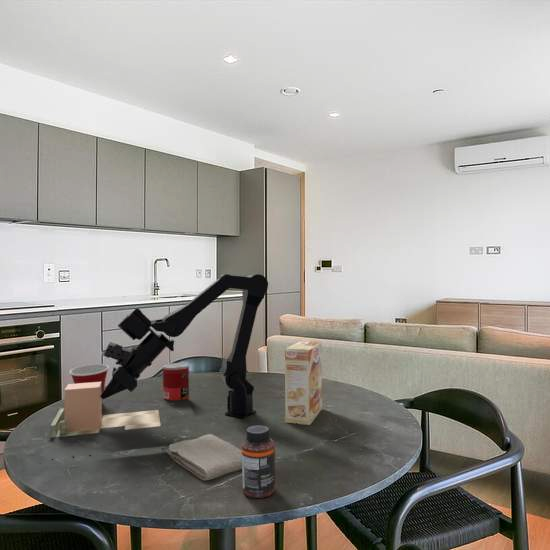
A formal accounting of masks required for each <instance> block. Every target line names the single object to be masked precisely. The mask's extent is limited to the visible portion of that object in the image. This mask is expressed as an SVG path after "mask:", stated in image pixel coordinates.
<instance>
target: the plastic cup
mask: <svg viewBox="0 0 550 550" xmlns="http://www.w3.org/2000/svg"><path fill="white" fill-rule="evenodd" d="M109 368H110V365H108V364H103V363H92V364H84V365H80V366H76V367H73V368H72V369H70V370H69V374H70V375H71V377H72V380H73V381H72V382H73V384H77V383H90V382H101V392H102V393H103V391H104V390H105V384H106V378H107V373H108V370H109Z"/></svg>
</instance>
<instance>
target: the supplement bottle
mask: <svg viewBox="0 0 550 550" xmlns="http://www.w3.org/2000/svg"><path fill="white" fill-rule="evenodd" d="M275 448H276V447H275V442H274V440H273V439H272V438H270V429H269V427H268V426H265V425H251V426H249V427H248V428H247V429H246V438H245V439H244V440H243V441H242V444H241V451H242V469H241V470H242V472H241V475H242V476H241V482H242V485H241V487H242V492H243V494H244V495H245V496H247V497H249V498H254V499H263V498H266V497H269V496H271V495H272V494H274V492H275V491H276V458H275V457H276V455H275V454H276V452H275V451H276V450H275Z"/></svg>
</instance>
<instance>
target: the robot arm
mask: <svg viewBox="0 0 550 550" xmlns="http://www.w3.org/2000/svg"><path fill="white" fill-rule="evenodd" d="M268 288H269V281H268V279H267V278H266V277H265V276H264V275H262V274H259V273H258V274H257V273H254V274H248V275H247V276H242V275H231V274H229V273H224V274H223V273H222V274H220V275H219V276H218V278H217V279H216V280H214V282H212V283H211V284H209V286H207V287H206V288H205V289H203V291H201V292H200V293H199V294H198V295H196V296H195V297H194V298H192V299H191V300H190V301H189V302H188V303H187V304H185V305H183V306H180V307H179V308H177V309H175V310H174V311H172V312H170V313H168V314H166V315H165V316H164V317H163V318H161V319H153V320H151V319H150V318H148V317H147V316H146V315H145V314H144V313H143V312H142V310H141V309H140V308H139V307H136V308H135V309H134V310H133V311H131V313H129V314H127V315H126V316H125V317H124V318H123V319H122V320H121V321H120V322H119V323H118V325H117V327H118V328H119V329H120V330H122V332H124V334H126V335H127V336H128V337H129V338H130V339H131V340H133V341H134V340H138V341H140V340H142V339H143V340H142V341H140V343H139V344H137V346H133V347H131V349H129V348H127V347H125V346H123V345H120V344H118V343H115V342H111V341H110V342H108V345H107V346H106V349H105V351H104V353H103V356H104V357H106V358H108V359H109V358H111V359H113V360H115V365H119V366H118V367H117V368H116V367H114V366H113V369H112V372H111V375H112V376H111V379H110V381H109V382H108V384H107V386H106V387H104V391H103V393H102V394H101V398H102V400H105V399H107V398H109V397H112V396H114V395H116V394H118V393H120V392H124V391H126V390H128V391H129V392H131V393H133V391H134V390H135V389H136V388H137V387H138V379H139V378H140V377H141V374H142V373H143V372H144V371H145V370H146V369H147V368H148V367H151V365H152V364H153V362H154V361H155V360H156V358H158V357H159V355H160V354H162V352H164V350H166V348H167V349H169V351H170V352H174V350H175V347H174V345H175V340H174V339H168V337H170V338H176V337H179V336H180V335H182V334H183V333H184V331H186V329H187V328H188V327H189V326H190V325H191V323H192V322H193V320H194V319H195V318H196V316H198V315H199V313H201V312H202V311H203V310H205V309H206V308H207V307H208V306H209V305H211V303H213V302H214V301H215V300H217V298H219V297H220V296H221V295H222V294H224V293H225V292H227V290H229V289H234V290H242V292H241V293H242V295H241V296H242V306H241V310H240V313H239V319H238V323H237V328H236V331H235V335H234V340H233V344H232V347H231V352H230V354H229V355H228V357H222V361H221V362H222V363H221V367H220V369H219V373H220V377H221V380H222V381H223V382H224V384H225V385H226V387H228V389H229V390H228V391H227V393H228V394H227V399H226V402H227V403H226V404H227V407H226V408H227V411H225V412H224V415H225V416H231V417H235V418H241V419H243V418H246V417H248V416H251V415H252V414H255V413H257V410H256V409H254V406H253V405H254V404H253V402H254V399H253V398H254V396H253V395H254V393H253V392H254V389H255V387H254V386H253V385H252V383H250V382H249V381H248V380H247V371H248V370H247V353H248V349H249V345H250V342H251V337H252V332H253V328H254V325H255V320H256V316H257V312H258V308H259V306H260V305H261V303H262V301H263V299H264V298H265V296H266V294H267V291H268ZM155 331H156V332H161V333H160V334H158V333H156V332H155ZM149 332H150V333H149ZM148 333H149V334H148ZM163 333H164V334H163ZM147 334H148V335H147ZM165 335H166V336H168V337H166V336H165ZM145 336H146V337H145ZM144 337H145V338H144Z"/></svg>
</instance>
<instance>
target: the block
mask: <svg viewBox="0 0 550 550" xmlns="http://www.w3.org/2000/svg"><path fill="white" fill-rule="evenodd" d="M63 392H64V409H65V421H67V431H68V430H78V429H88V428H98V427H100V425H101V421H102V417H103V413H102V412H103V407H102V403H103V399H102V398H101V394H102V392H101V382H90V383H77V384H74V383H67V385H66V387H65V388H64V390H63Z"/></svg>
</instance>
